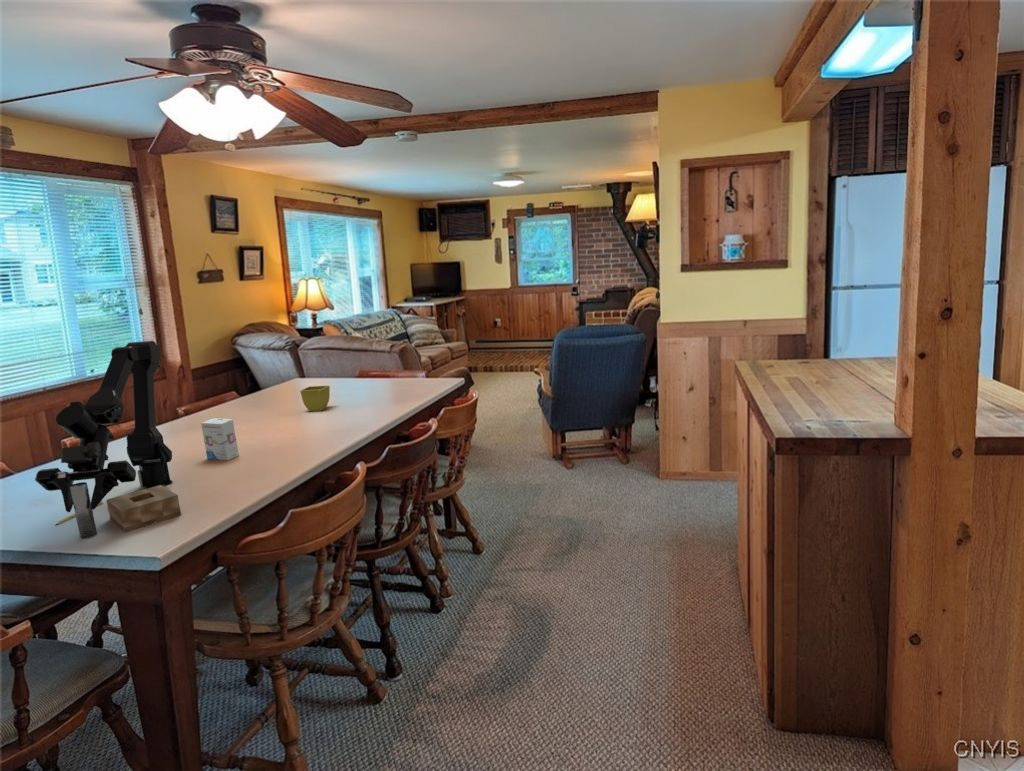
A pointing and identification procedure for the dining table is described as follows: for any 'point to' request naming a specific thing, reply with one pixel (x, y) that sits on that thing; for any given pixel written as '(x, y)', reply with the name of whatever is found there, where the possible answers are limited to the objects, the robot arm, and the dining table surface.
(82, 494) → the pin
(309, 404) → the flower pot
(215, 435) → the ink box
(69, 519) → the pencil
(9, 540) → the dining table surface
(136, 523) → the socket block
